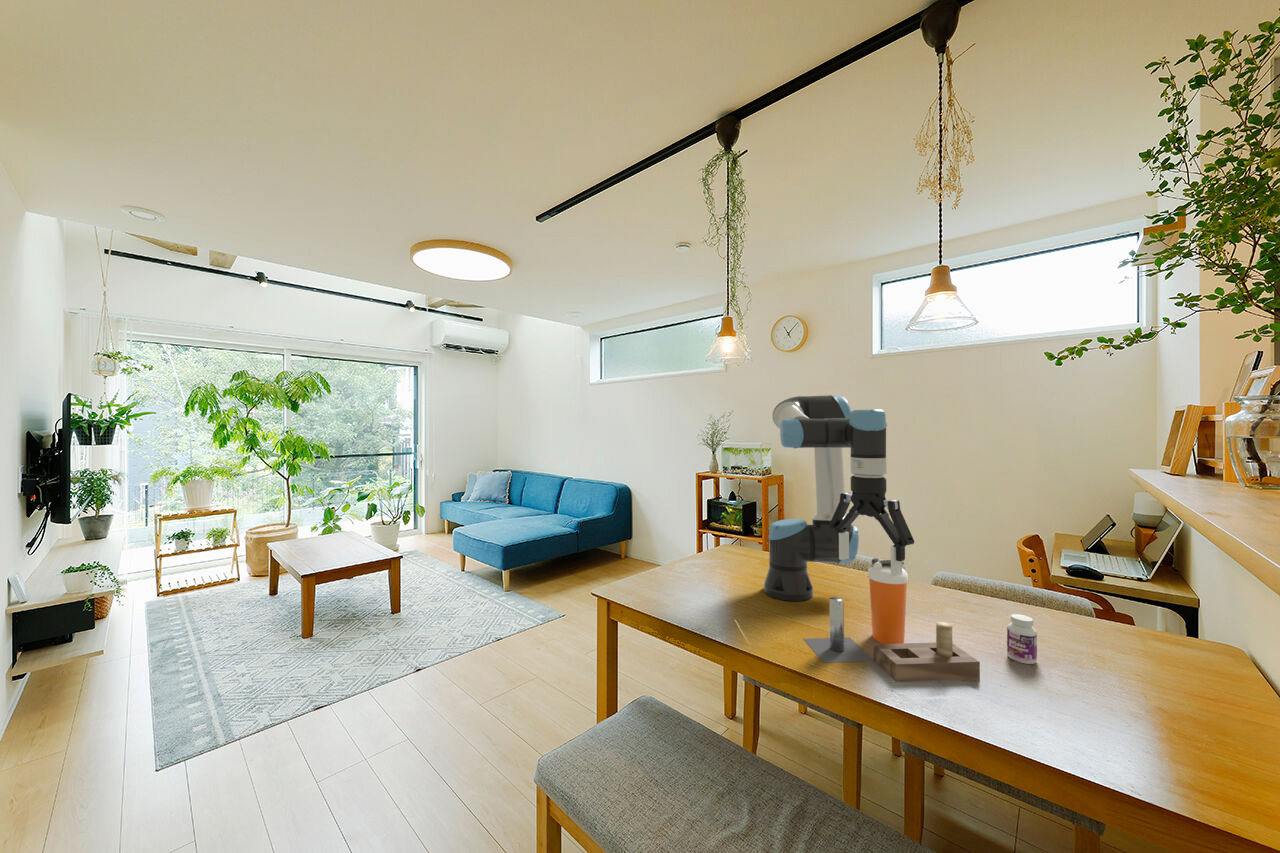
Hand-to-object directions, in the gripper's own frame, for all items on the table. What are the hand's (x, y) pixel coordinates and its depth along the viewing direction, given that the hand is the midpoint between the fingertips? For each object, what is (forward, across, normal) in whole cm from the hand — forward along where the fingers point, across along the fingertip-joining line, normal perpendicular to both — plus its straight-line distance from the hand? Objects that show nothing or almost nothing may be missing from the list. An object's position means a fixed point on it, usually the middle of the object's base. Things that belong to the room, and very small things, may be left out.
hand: (868, 566), depth 110 cm
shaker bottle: (+22, -3, +12) cm, 25 cm away
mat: (+21, -6, -4) cm, 22 cm away
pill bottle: (+22, +17, +30) cm, 41 cm away
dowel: (+21, +12, +9) cm, 26 cm away
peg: (+21, -6, -4) cm, 22 cm away
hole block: (+21, +10, +5) cm, 24 cm away
